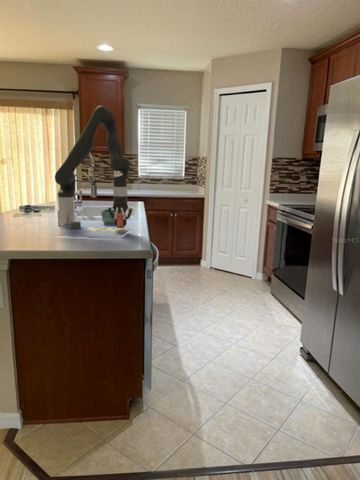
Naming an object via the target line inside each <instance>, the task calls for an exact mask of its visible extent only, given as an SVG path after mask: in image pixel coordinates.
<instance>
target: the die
mask: <svg viewBox="0 0 360 480" xmlns="http://www.w3.org/2000/svg"><path fill="white" fill-rule="evenodd" d="M81 223H82V222H81V220H75V221H71V224H70V225H71V226H70V228H71V230H81V228H82V227H81V225H82V224H81Z"/></svg>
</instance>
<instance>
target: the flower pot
mask: <svg viewBox="0 0 360 480" xmlns="http://www.w3.org/2000/svg"><path fill="white" fill-rule="evenodd" d="M100 213H101V219H102V223H103V224H104V225H115V219H114V218H111V215H110V213H109V210H108V209H104V210H102V211H100ZM113 214H114V216H115V210H114V209H113Z"/></svg>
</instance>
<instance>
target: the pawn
mask: <svg viewBox="0 0 360 480" xmlns="http://www.w3.org/2000/svg"><path fill="white" fill-rule="evenodd" d="M117 216H118V217H117V226H116V228H119V229H125V226H123V220H124V218H123V215H122V213H120V212H119V213H118V214H117Z"/></svg>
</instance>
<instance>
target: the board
mask: <svg viewBox="0 0 360 480" xmlns="http://www.w3.org/2000/svg"><path fill="white" fill-rule="evenodd" d="M86 231H91V232H92V231H95V232H115V233H117V232H119V233H123V232H124V233H123V235H125V234H126V233H127V232H129V229H127V228H117V227H116V228H115V227H112V228H111V227H94V226H93V227H91V226H90V227H88V228H87V229H86Z"/></svg>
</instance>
